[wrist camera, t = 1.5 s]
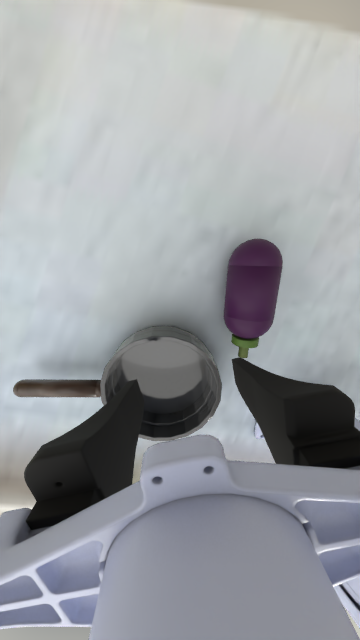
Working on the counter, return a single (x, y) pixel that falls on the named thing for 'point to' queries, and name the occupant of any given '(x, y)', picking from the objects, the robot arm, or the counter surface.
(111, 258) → the counter surface
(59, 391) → the pan handle
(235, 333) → the eggplant
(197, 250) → the counter surface
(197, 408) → the pan
